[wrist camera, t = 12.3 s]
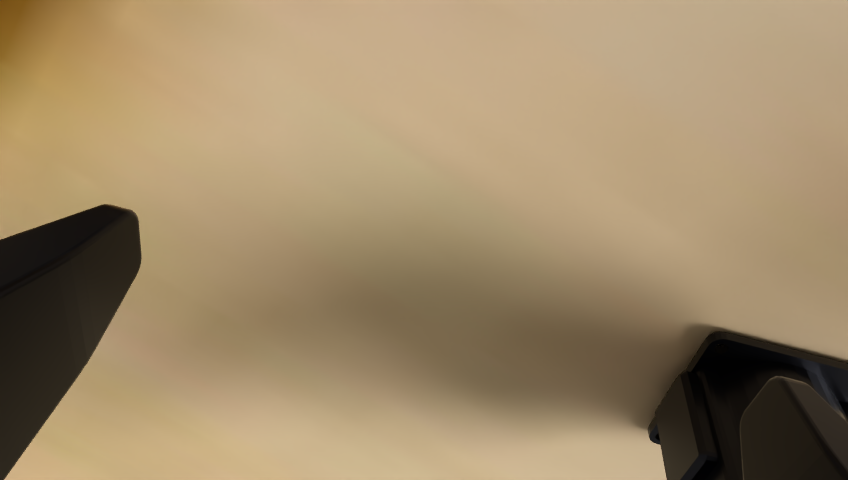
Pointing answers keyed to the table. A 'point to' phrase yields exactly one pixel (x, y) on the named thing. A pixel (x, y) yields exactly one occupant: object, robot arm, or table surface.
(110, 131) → the table surface
